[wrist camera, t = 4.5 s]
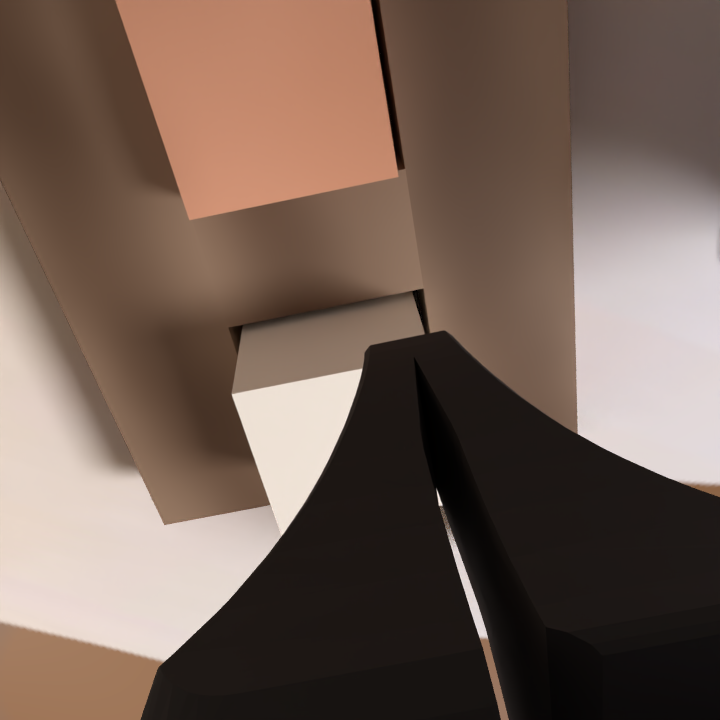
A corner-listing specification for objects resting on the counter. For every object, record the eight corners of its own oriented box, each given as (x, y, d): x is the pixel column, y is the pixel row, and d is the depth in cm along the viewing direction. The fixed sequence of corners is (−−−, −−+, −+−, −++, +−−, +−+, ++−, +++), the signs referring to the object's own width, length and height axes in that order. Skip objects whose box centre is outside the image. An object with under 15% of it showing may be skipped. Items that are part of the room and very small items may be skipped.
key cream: (410, 284, 20) (431, 355, 17) (432, 418, 23) (454, 503, 19) (244, 318, 20) (231, 394, 17) (284, 446, 23) (281, 535, 19)
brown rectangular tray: (495, -897, 11) (542, -1101, 9) (554, 403, 25) (577, 446, 22) (-328, -675, 11) (-472, -814, 9) (176, 475, 25) (164, 524, 23)
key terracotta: (347, -72, 17) (358, -75, 13) (382, 135, 19) (398, 176, 16) (148, -27, 17) (109, -19, 13) (209, 171, 19) (189, 220, 16)
